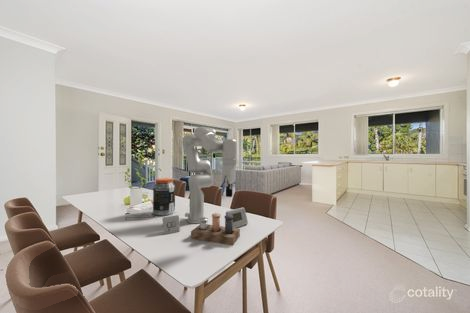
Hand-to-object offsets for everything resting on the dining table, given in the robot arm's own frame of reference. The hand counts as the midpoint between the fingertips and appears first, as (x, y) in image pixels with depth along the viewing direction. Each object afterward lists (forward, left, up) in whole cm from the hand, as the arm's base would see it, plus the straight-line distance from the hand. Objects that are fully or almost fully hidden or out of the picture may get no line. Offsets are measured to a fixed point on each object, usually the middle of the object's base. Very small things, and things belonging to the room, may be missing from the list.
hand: (229, 196), depth 104 cm
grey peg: (-15, 0, -23) cm, 27 cm away
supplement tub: (-61, +26, -24) cm, 71 cm away
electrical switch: (-35, -2, -24) cm, 43 cm away
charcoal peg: (0, 0, -20) cm, 20 cm away
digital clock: (-1, +20, -24) cm, 31 cm away
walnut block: (-7, 0, -23) cm, 24 cm away
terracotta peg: (-7, 0, -20) cm, 21 cm away
